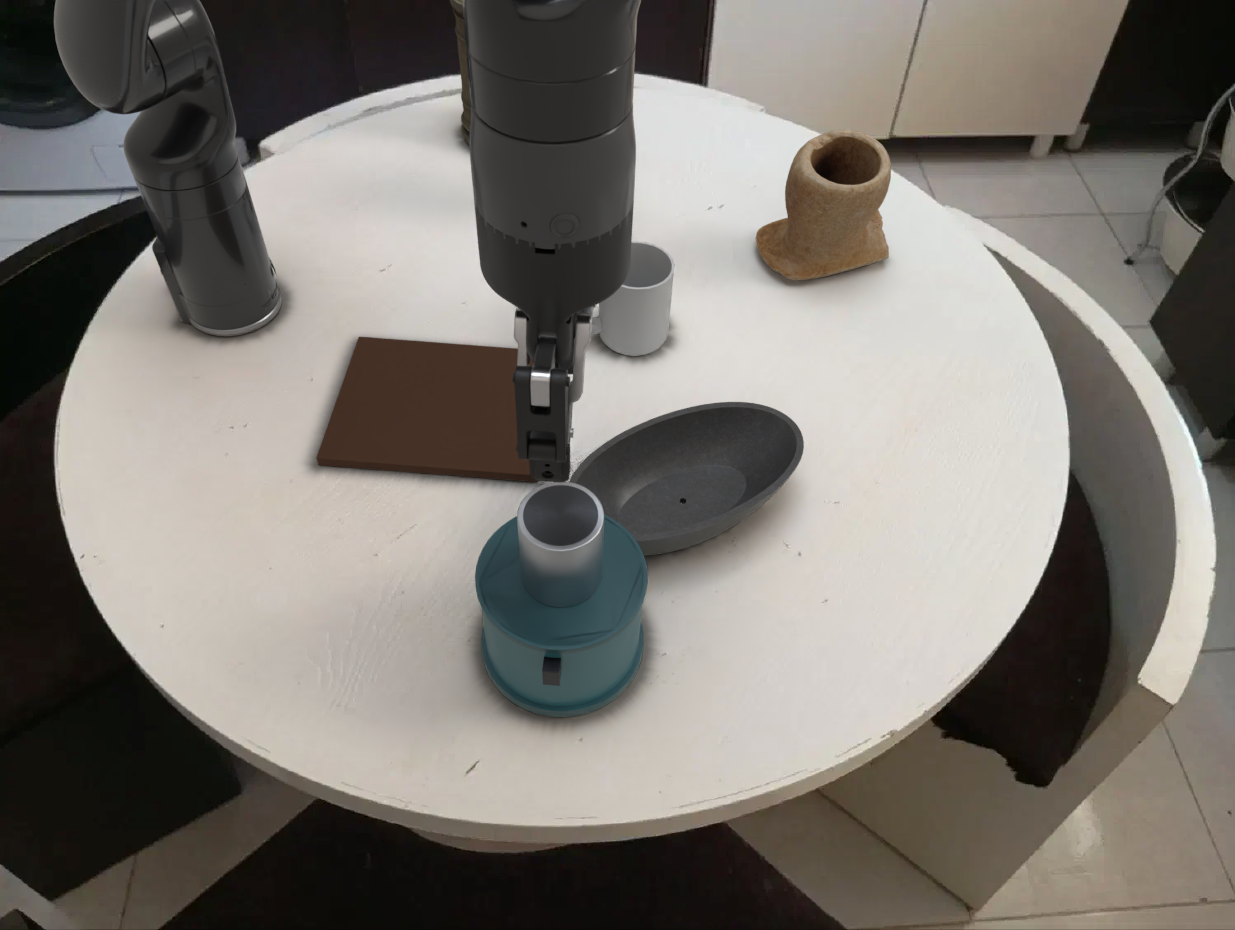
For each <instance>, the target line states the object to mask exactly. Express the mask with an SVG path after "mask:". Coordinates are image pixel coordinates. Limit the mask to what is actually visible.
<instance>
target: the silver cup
mask: <svg viewBox="0 0 1235 930" xmlns="http://www.w3.org/2000/svg"><path fill="white" fill-rule="evenodd" d="M516 516H517V524H518V538H519V551H520V565H521V578H522V582H523V585H524V587H525V589H526V591H527V592H528V593H529V594H530V595H531V596H532V597H533V598H534V599H536V600H537V601H539V602H540V603H542V604H545V605H548V606H552V607H570V606H574V605H577V604H580V603H582V602H584V601H585V600H587V599H588V598H590V597H591V596H592V595H593V594H594V593H595V591H596V590H597V589H598V587H599V585H600V582H601V578H602V561H603V536H604V510H603V507H602V504H601V502H600V501H599V499H598V498H597V497H596V495H595V494H594V493H592V492H591V491H590V490H589V489H587V488H585V487H583V486H581V485H578V484H575V483H571V482H569V481H566V482H561V483H559V482H547V483H544V484H541V485H539V486H537V487H535V488H533V489H532V490H530V491H529V492H528V493H527V494H526V495H525V496H524V498H523V499H522V500H521V502H520V503H519V505H518V508H517V513H516Z"/></svg>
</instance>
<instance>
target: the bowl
mask: <svg viewBox="0 0 1235 930" xmlns="http://www.w3.org/2000/svg"><path fill="white" fill-rule="evenodd" d="M804 442H805V441H804V437H803V434H802V431H801V429H800V427H799V426H798V424H797V423H796V422H795V421H794V420H793V419H792V418H791V417H789V416H788V414H785V413H784V412H782V411H780V410H778V409H777V408H774V407H771V406H768V405H765V404H760V403H754V402H748V401H747V402H746V401H720V402H719V401H718V402H710V403H704V404H699V405H694V406H689V407H685V408H681V409H678V410H674V411H670V412H667V413H664V414H661V415H659V416H656V417H653V418H650V419H648V420H645V421H643V422H641V423H639V424H637V425H635V426H632V427H630V428H629V429H626V430H624V431H622V432H620V433H619V434H617V435H615V436H614V437H612V438H610V439H609V440H607V441H605V442H604V443H602V444H601V445H600V446H598V447H597V448H596V449H595V450H594V451H592V452H591V453H590V454H589V455H587V457H586V458H584V459H583V460H582V462H581V463H580V464H579V465H578V466H577V467H576V469H575V470H574V472H573V473H572V475H571V477H570V478H569V480H568V482H571V483H575V484H578V485H581V486H583V487H585V488H587V489H589V490H590V491H591V492H592V493H594V494H595V495H596V497H597V498H598V499H599V501H600V502H601V504H602V507H603V510H604V514H605V515H607V516H609V517H611V518H612V519H614V520H615V521H617V522H618V523H620V524H621V525H622V526H623V527H624V528H626V529H627V530H628V531H629V533H630V534H631V535H632V536H633V537H634V538H635V540H636V541H637V543H638V544H639V546H640V548H641V550H642V552H643V555H644V556H653V555H661V554H668V553H673V552H676V551H677V552H678V551H680V550H684V549H687V548H690V547H693V546H696V545H698V544H701V543H703V542H707V541H708V540H710V539H712V538H714V537H717V536H719V535H721V534H723V533H725V532H726V531H728V530H731V529H732V528H733V527H735V526H737V525H739V524H740V523H741V522H743V521H745V520H746V519H747V518H749V517H750V516H751V515H753V514H755V512H756V511H758V510H759V509H760V508H762V507H763V506H764V505H765V504H766V503H767V502H768V501H769V500H771V499H772V498H773V496H774V495H776V494H777V492H778V491H779V490H780V489H781V488H782V487H783V486H784V484H785V483H786V482H787V481H788V480H789V478H790V477H791V476H792V475H793V473H794V472H795V471H796V469H797V467H798V466H799V465H800V462H801V460H802V458H803V454H804V449H805V443H804Z"/></svg>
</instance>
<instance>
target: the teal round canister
mask: <svg viewBox="0 0 1235 930" xmlns="http://www.w3.org/2000/svg"><path fill="white" fill-rule="evenodd" d="M648 576H649V575H648V565H647V560H646V558H645V555H643V552H642V550H641V548H640V546H639V544H638V543H637V541H636V540H635V538H634V537H633V536H632V535H631V534H630V533H629V531H628V530H627V529H626V528H624V527H623V526H622V525H621V524H620V523H618V522H617V521H615V520H614V519H612V518H611V517H609V516H607V515H605V514H604V536H603V561H602V578H601V582H600V585H599V587H598V589H597V590H596V591H595V593H594V594H593V595H592V596H591V597H590V598H588V599H587V600H585V601H584V602H582V603H580V604H577V605H574V606H570V607H552V606H548V605H545V604H542V603H540V602H539V601H537V600H536V599H534V598H533V597H532V596H531V595H530V594H529V593H528V592H527V591H526V589H525V587H524V585H523V582H522V578H521V565H520V551H519V538H518V524H517V515H516V516H514V517H512V518H511V519H509V520H508V521H506V522H505V523H503V524H502V525H500V527H499V528H497V529H496V530H495V531H494V532H493V533H492V535H491V536H490V537H489V538H488V539H487V541H486V542H485V544H484V545H483V547H482V549H481V551H480V554H479V556H478V558H477V563H476V566H475V574H474V582H475V583H474V585H475V593H476V597H477V600H478V604H479V606H480V609H481V616H482V629H481V637H480V643H481V644H480V645H481V654H482V660H483V665H484V667H485V671H486V673H487V675H488V676H489V679H490V680H491V682H492V683H493V685H494V686H495V688H496V689H497V691H499V693H500V694H502V695H503V696H504V697H505V698H506V699H507V700H508V701H510V702H511V703H512V704H514V705H516V706H517V707H519V708H521V709H523V710H524V711H527V712H530V713H532V714H536V715H539V716H545V717H550V718H570V717H572V718H573V717H579V716H583V715H587V714H590V713H592V712H595V711H598V710H600V709H601V708H604V707H606V706H608V705H609V704H610V703H612V702H614V701H615V700H617V698H618V697H620V696H621V695H622V694H623V693H624V692H625V691H626V689H627V688H628V687H629V686H630V685H631V683H632V682H633V680H634V679H635V677H636V675H637V673H638V671H639V668H640V665H641V662H642V659H643V653H644V641H645V640H644V638H645V637H644V636H645V635H644V627H643V624H642V613H643V605H644V601H645V598H646V595H647V590H648V582H649V581H648V579H649V578H648Z"/></svg>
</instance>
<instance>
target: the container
mask: <svg viewBox="0 0 1235 930" xmlns="http://www.w3.org/2000/svg"><path fill="white" fill-rule="evenodd" d="M449 3H450V5H451V7H452V12H453V15H454V17H455V27H454V32H455V34H456V41H457V50H458V60H459V71H460V82H461V94H460V99H461V102H462V113H461V116H460V122H461V127H460V131H461V136H462V139H463V141H464V143H466V144H467V146H469V147H470V126H471V98H470V88H469V76H468V65H467V54H466V43H465V32H464V20H463V0H449Z"/></svg>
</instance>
